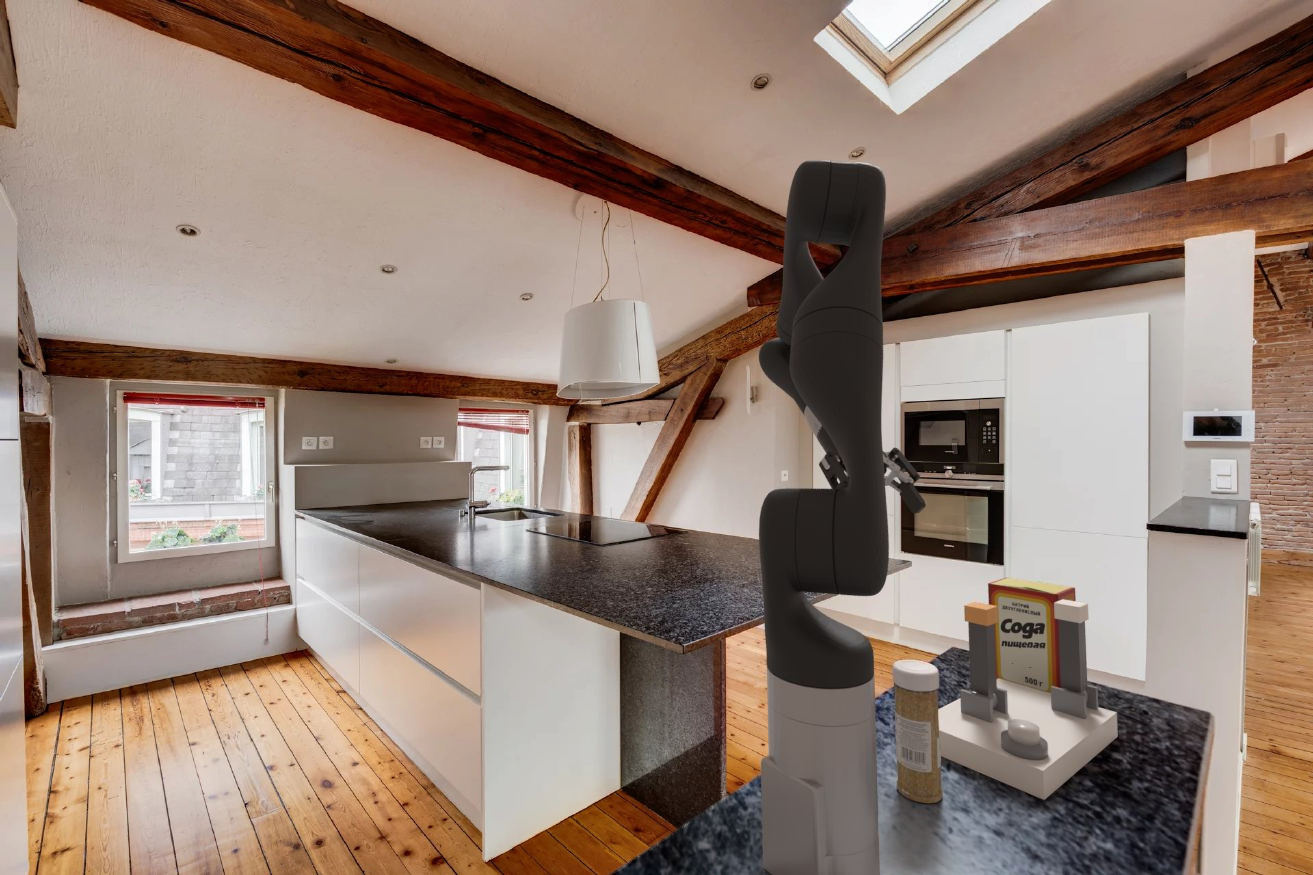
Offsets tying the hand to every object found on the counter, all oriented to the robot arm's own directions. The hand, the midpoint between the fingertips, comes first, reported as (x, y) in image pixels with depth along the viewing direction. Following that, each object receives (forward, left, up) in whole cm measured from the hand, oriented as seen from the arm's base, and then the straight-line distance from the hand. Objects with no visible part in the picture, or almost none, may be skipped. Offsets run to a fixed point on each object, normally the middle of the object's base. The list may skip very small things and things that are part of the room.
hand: (897, 513), depth 78 cm
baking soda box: (+26, -6, -28) cm, 39 cm away
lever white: (+15, -15, -25) cm, 32 cm away
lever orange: (+5, -8, -25) cm, 26 cm away
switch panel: (+7, -11, -28) cm, 31 cm away
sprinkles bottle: (-13, -10, -28) cm, 33 cm away
